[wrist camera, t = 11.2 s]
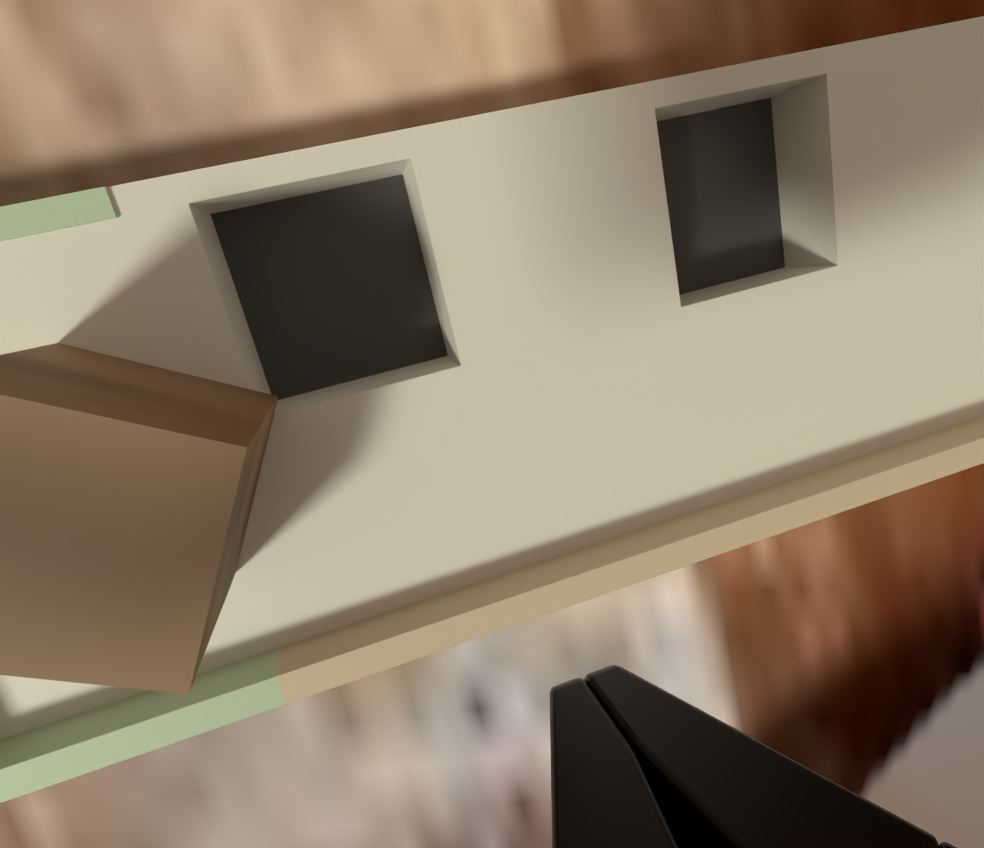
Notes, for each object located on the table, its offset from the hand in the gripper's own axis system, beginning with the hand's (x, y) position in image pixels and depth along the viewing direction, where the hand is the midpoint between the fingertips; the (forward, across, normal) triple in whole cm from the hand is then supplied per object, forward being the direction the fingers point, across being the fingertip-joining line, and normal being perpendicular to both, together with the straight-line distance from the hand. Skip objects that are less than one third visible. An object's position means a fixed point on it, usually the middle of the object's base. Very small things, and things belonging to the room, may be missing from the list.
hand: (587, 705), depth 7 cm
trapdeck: (+11, -5, -2) cm, 12 cm away
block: (+9, +7, -2) cm, 11 cm away
